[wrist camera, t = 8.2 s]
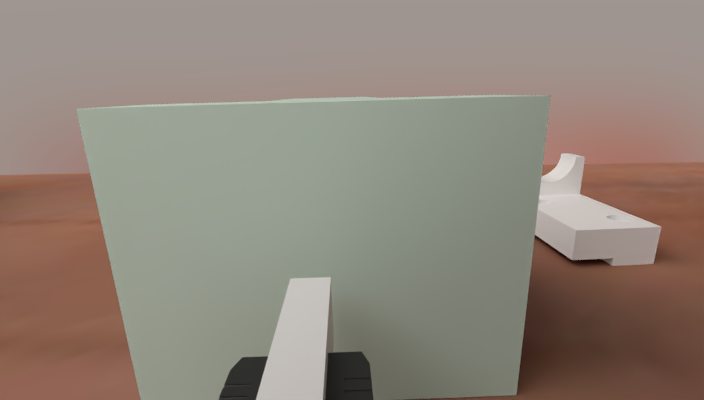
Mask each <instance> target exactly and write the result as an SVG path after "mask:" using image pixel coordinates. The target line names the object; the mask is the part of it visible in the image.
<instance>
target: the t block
mask: <svg viewBox="0 0 704 400" xmlns="http://www.w3.org/2000/svg"><path fill="white" fill-rule="evenodd" d="M550 97H551V96H550V95H549V96H548V95H547V96H546V95H475V96H441V97H403V98H374V97H342V98H309V99H308V98H307V99H286V100H276V101H260V102H226V103H190V104H154V105H136V106H118V107H101V108H82V109H76V111H77V116H78V120H79V125H80V129H81V134H82V137H83V142H84V147H85V152H86V156H87V160H88V165H89V170H90V174H91V179H92V183H93V188H94V192H95V197H96V201H97V205H98V210H99V214H100V219H101V223H102V228H103V232H104V237H105V241H106V246H107V250H108V255H109V259H110V264H111V268H112V273H113V277H114V282H115V286H116V291H117V295H118V300H119V304H120V309H121V313H122V318H123V322H124V327H125V331H126V336H127V340H128V345H129V349H130V354H131V358H132V363H133V367H134V372H135V376H136V381H137V385H138V390H139V394H140V399H141V400H219V396H220V394H221V391H222V389H223V388H224V384H225V382H226V379H227V377H228V374H229V372H230V370H231V369H232V368H233V367H234V365H235V364H236V363H237V362H238V361H239V360H240V359H241V358H242V357H262V356H268V355H269V352H270V348H271V345H272V341H273V338H274V334H275V331H276V327H277V324H278V320H279V317H280V313H281V310H282V306H283V303H284V299H285V296H286V292H287V289H288V285H289V282H290V279H293V278H321V277H331V292H332V313H333V335H334V347H333V353H334V352H360V351H362V353H363V354H364V356H365V357H366V359H367V360H368V361H369V363H370V370H371V380H372V391H373V400H405V399H432V398H458V397H485V396H512V395H517V386H518V377H519V369H520V360H521V351H522V342H523V334H524V325H525V316H526V307H527V299H528V290H529V281H530V272H531V264H532V255H533V246H534V237H535V229H536V220H537V211H538V202H539V194H540V185H541V176H542V167H543V159H544V150H545V141H546V132H547V124H548V114H549V106H550Z"/></svg>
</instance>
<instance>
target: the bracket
mask: <svg viewBox="0 0 704 400" xmlns="http://www.w3.org/2000/svg"><path fill="white" fill-rule="evenodd" d="M584 160H585V157H583V156H578V155H574V154H570V153H566V154H561V158H560V161H559V163H558V164H557V166H556V167H555V168H554V169H553V170H552V171H551V172H550V173H548V174H547V175H544V176H541V185H540V194H539V202H538V211H537V220H536V229H535V235H536V236H537V237H539V238H540V239H542V240H543V241H545V242H546V243H548V244H549V245H551V246H552V247H554V248H555V249H556V250H558V251H559V252H561V253H562V254H564V255H565V256H567V257H568V258H570V259H571V260H587V259H602V260H604V261H605V262H607V263H609V264H610V265H612V266H618V265H638V264H654V259H655V254H656V250H657V245H658V240H659V236H660V231H661V226H658V225H656V224H653V223H651V222H648V221H646V220H643V219H641V218H638V217H636V216H633V215H631V214H628V213H626V212H623V211H621V210H618V209H616V208H613V207H611V206H608V205H606V204H603V203H601V202H598V201H596V200H593V199H591V198H588V197H586V196H583V195H581V194H580V188H581V181H582V174H583V167H584Z"/></svg>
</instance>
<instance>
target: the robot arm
mask: <svg viewBox="0 0 704 400" xmlns="http://www.w3.org/2000/svg"><path fill="white" fill-rule="evenodd" d="M333 347H334V335H333V313H332V292H331V277H321V278H293V279H290V282H289V285H288V289H287V292H286V296H285V299H284V303H283V306H282V310H281V313H280V317H279V320H278V324H277V327H276V331H275V334H274V338H273V341H272V345H271V348H270V352H269V355H268V356H262V357H242V358H241V359H240V360H239V361H238V362H237V363H236V364H235V365H234V367H233V368H232V369H231V370H230V372H229V374H228V377H227V379H226V382H225V384H224V388H223V389H222V391H221V394H220V396H219V400H373V391H372V380H371V370H370V363H369V361H368V360H367V359H366V357H365V356H364V354H363V353H362V351H360V352H334V353H333Z"/></svg>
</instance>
